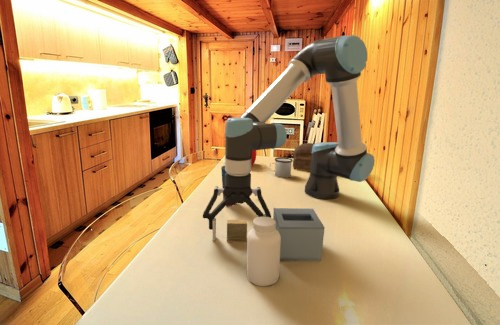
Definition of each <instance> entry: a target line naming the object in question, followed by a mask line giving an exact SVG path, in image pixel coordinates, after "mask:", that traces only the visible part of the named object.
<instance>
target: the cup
mask: <svg viewBox="0 0 500 325" xmlns="http://www.w3.org/2000/svg"><path fill="white" fill-rule="evenodd" d="M225 173H226V171H225V165H223V166H221V184H222V186H221V187H222V188H223V189H224V187H225ZM225 197H226V196H225V195H224V194H223V193H222V200H223V199H224V198H225ZM234 205H235V206H236V205H237V203H235V204H232V203H231V202H229V203H228V204H227V205H226V206H229V207H230V206H234Z"/></svg>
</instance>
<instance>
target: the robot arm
mask: <svg viewBox="0 0 500 325" xmlns="http://www.w3.org/2000/svg"><path fill="white" fill-rule="evenodd" d="M367 62H368V50H367V46H366V43H365V42H364V40H363V39H361V38H360V37H359V36H357V35H353V34H352V35H338V36H333V37H329V38H320V39H317V40H314V41H312V42H310V43H308V44H307V45H306V46H305V47H303V48H302V49H301V50H299V52H297V53H296V55H294V56H293V57H292V58H291V59H290V60H289V62H288V63H287V68H286V69H285V70H284V71H282V73H281V74H280V75H279V76H278V77H277V78H276V79H275V81H273V82H272V83H271V84H270V85H269V86H268V88H267V89H266V90H265V91H264V92H263V93H262V94H261V95H260V96H259V97H258V98H257V99H256V100H255V102H253V103H252V104H251V105H250V106H249V108H248V109H246V111H245V112H244V113H243V114H242V115H241V116H239V117H237V116H236V117H229V118H227V119H226V121H225V129H224V130H225V131H224V132H225V133H224V136H225V138H224V139H225V141H224V142H225V143H224V144H225V145H224V146H225V147H224V149H225V151H224V154H225V157H224V166H225V171H226V173H225V187H224V189H223V187H222V188H221V187H219V186H217V185H216V186H215V187H214V189H213V193H212V196H211V197H210V200H209V202H208V204H207V205H206V207H205V209H204V211H203V213H202V219H207V220H208V229H209V230H212V241H213V242H216V237H217V216H218V215H219V214H220V212H221V211H222V210H223V209H224V208H225V207H226V206H227V204H228V203H229V202H231V203H232V204H235V203H236V204H240V205H241V204H242V205H244V203H245V204H246V205H247V206H249V208H250V209H251V210H252V211H253V213H255V215H256V216H257V217H270V218H272V214H271V211H270V209H269V208H268V205H267V203H266V201H265V199H264V196H263V195H262V194H263V193H262V189H261V187H259V186H257V187H256V188H252V186H251V185H252V183H251V182H252V174H251V172H252V165H251V163H252V151H254V150H256V151H261V150H270V149H271V150H274V149H277V148H281V147H282V146H284V145H285V144H286V142H287V136H288V134H287V130H286V128H285V126H284V125H283V124H281V123H275V122H271V123H267V122H268V120H269V119H270V118H271V117H273V115H274V114H275V113H276V112H277V110H279V108H281V106H282V105H284V103H285V102H286V101H287V100H288V99H289V97H291V95H293V93H294V92H295V91H296V90H297V89H298V88H299V87H300V85H301V84H303V83H306V82H308V81H309V80H310V79H311V78H312V77H314V76H316V75H320V74H321V75H324V77H325V78H324V79H325V82H326V83H327V84H328V85H329V86H330V89H331V95H332V96H331V97H332V105H333V112H334V120H335V128H336V136H337V137H336V138H337V142H335V141H334V142H333V141H331V142H327V141H325V142H317V143H316V144H314V145H313V148H312V152H311V153H312V154H311V168H310V171H309V176H308V178H307V181H306V182H305V183H306V184H305V185H304V193H305V195H307V196H310V197H311V198H315V199H320V200H321V199H323V200H330V199H331V200H333V199H337V198H339V196H340V187H339V182H338V177H341V178H343V179H347V180H350V181H351V182H352V181H353V182H357V183H358V182H359V183H362V182H365V181H366V180H367V179H368V178H369V176H370V175H371V174H372V171H373V169H374V167H375V156H374V155H373V154H371V153H369V152H368V146H367V144H366V143H365V142H363V141H362V140H363V138H362V128H361V116H360V105H359V93H358V82H357V81H358V80H359V78H360V77H361V76H362V73H361V72H363V70H364V69H365V68H366V65H367ZM221 194H222V195H223V194H224V195H225V196H226V197H225V198H224V199H223V198H222V200H221V201H220V202H219V204H217V206H216V207H215V208H214V209H213V210H212V208H213V207H214V204H215V202H216V201H217V199H218V196H221ZM251 195H254V196H255V197H257V200H258V202H259V204H260V206H261V208H262V210H263V211H261V209H260V208H259V207H258V206H257V205H256V204H255V202H254V201H253V199H252V198H251ZM236 204H235V205H236ZM211 210H212V211H211Z"/></svg>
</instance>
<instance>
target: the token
mask: <svg viewBox="0 0 500 325" xmlns="http://www.w3.org/2000/svg"><path fill="white" fill-rule="evenodd" d="M247 236H248V220H247V219H227V220H226V242H231V243H232V242H237V243H238V242H241V243H243V242H244V243H245V242H246V243H247Z"/></svg>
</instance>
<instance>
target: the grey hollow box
mask: <svg viewBox="0 0 500 325" xmlns="http://www.w3.org/2000/svg"><path fill="white" fill-rule="evenodd" d="M272 218H273V219H274V220H275V221H276V230H277V231H278V232H279V234H280V237H281V244H280V261H281V262H283V261H288V262H289V261H293V262H294V261H295V262H297V261H300V262H301V261H302V262H305V261H306V262H307V261H309V262H310V261H311V262H315V261H316V262H318V261H319V262H321V261H322V254H323V246H324V236H325V226H324V224H323V222H322V221H321V219H320V217H319V216H318V214H317V213H316V211H315V209H314V208H300V207H299V208H297V207H296V208H292V207H291V208H290V207H289V208H287V207H285V208H283V207H282V208H281V207H280V208H279V207H277V208H276V207H274V208H273V215H272Z"/></svg>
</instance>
